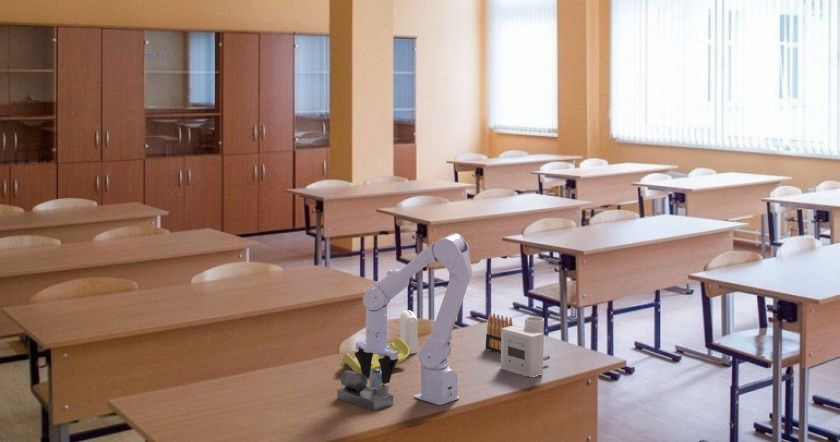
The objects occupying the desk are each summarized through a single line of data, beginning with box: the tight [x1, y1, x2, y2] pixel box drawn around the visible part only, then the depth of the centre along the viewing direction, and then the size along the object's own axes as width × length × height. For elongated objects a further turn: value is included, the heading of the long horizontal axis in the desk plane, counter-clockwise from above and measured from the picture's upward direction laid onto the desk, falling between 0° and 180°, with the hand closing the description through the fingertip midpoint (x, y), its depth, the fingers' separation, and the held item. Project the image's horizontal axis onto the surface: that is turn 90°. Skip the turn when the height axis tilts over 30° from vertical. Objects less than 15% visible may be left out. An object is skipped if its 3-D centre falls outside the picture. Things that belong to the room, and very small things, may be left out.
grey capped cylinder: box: [369, 369, 384, 391], centre depth 269 cm, size 4×4×6 cm
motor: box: [336, 369, 394, 411], centre depth 260 cm, size 15×7×7 cm, turn 46°
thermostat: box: [500, 316, 551, 378], centre depth 290 cm, size 12×14×15 cm
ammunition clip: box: [485, 312, 513, 354], centre depth 308 cm, size 11×2×12 cm, turn 42°
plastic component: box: [339, 337, 411, 374], centre depth 291 cm, size 20×7×10 cm
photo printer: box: [399, 309, 419, 355], centre depth 310 cm, size 10×4×12 cm, turn 13°
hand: (376, 379), depth 269 cm, fingers open, 7 cm apart
